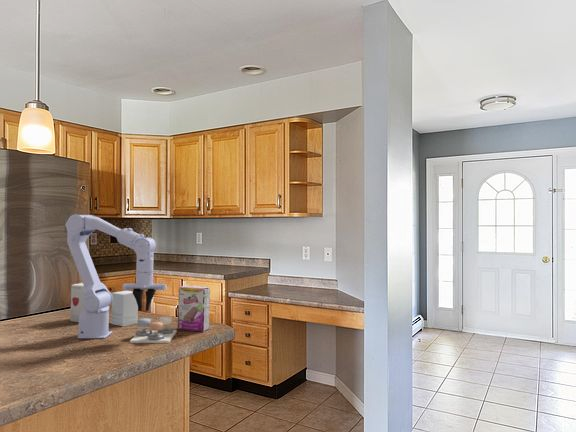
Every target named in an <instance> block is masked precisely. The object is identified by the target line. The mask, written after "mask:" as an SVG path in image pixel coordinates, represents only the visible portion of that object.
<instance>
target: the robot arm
mask: <svg viewBox="0 0 576 432" xmlns="http://www.w3.org/2000/svg"><path fill="white" fill-rule="evenodd" d="M65 228H66V230H67V231H66V235H67V236H66V243H67V245H68V249H69V251H70V254H71V257H72V259H73V261H74V264H75V267H76V269H77V272H78V274H79V277H80V279H81V281H82V282H81V283H83V285H84V287H85V288H84V290H83V292H82V297H83V306H84V308H85V310H86V311H82V312H81V313H80V316H79V322H78V333H77V334H78V335H77V339H106V338H107V337H109V336H110V335H111V334H113V331H112V330H110V331H109V325H110V324H109V321H110V316H109V315H110V306H112V302H113V296H112V292H110V291H109V289H108V287H107V285H106V284H104V283H103V284H102V282H101V280H100V277H99V275H98V272H97V270H96V268H95V265H94V262H93V259H92V257H91V255H90V252H89V249H88V247H87V244H86V242H87V240H88V238H89V236H91V235H92V233H94V232H95V231H96V230H98V231H100V232H102V233H105V234H107V235H109V236H112V237H114V238H116V240H117V243H119V244H121V245H123V246H125V247H127V248H130V249H132V250H134V253H135V254H136V272H135V273H136V275H135V276H136V277H135V282H136V283H123V284H122V291H133V295H134V297H135V299H136V302H137V305H138V311H139V312H141V311H143V295H144V294H143V293H144V291H145V290H146V291H145V311H146V312H148V311H150V307H151V303H152V300H153V297H154V295H156V294H155V293H156V291H166V289H167V284H166V283H156V282H155V283H154V256H155V255H154V253H155V251H156V250H157V242H156V240H155V239H153V238H152V237H150V236H148V237H147V236H146V237H145V234H143V233H137V232H136V231H134V229H133V228H131V227H128V228H127V227H125V228H120V227H117V226H116V225H115V224H114V225H113V224H111V223H110V222H108V221H106V220H104V219H102V218H101V217H99V216H95V215H93V214H75V213H74V214H72V215H70V216H69V217H68V220H67V221H66V223H65Z"/></svg>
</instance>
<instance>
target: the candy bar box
mask: <svg viewBox="0 0 576 432" xmlns="http://www.w3.org/2000/svg"><path fill="white" fill-rule="evenodd" d="M210 295H211V287H210V286H209V287H208V286H198V285H188V284H187V285H182V286H179V287H178V307H177V308H178V312H177V313H178V316H177V330H184V331H193V332H194V331H195V332H202V333H203V332H206V331H208V330H210V304H211V303H210V301H211V300H210V299H211V298H210Z"/></svg>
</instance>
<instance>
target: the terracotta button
mask: <svg viewBox="0 0 576 432" xmlns="http://www.w3.org/2000/svg"><path fill="white" fill-rule="evenodd" d="M148 327H149V329H148V330H152V331H157V330H162V329H163V328H164V325H163V322H159V321H151V323H150V326H148Z"/></svg>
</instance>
